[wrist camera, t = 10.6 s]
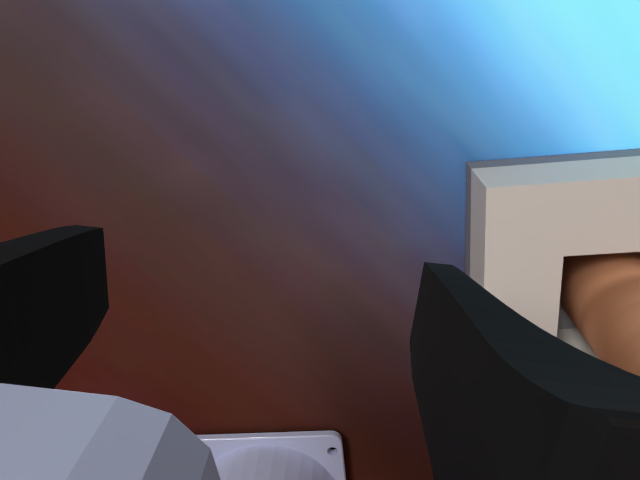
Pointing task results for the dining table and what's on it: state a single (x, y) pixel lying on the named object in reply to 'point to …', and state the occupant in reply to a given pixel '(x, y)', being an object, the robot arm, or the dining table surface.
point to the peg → (605, 304)
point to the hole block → (548, 226)
